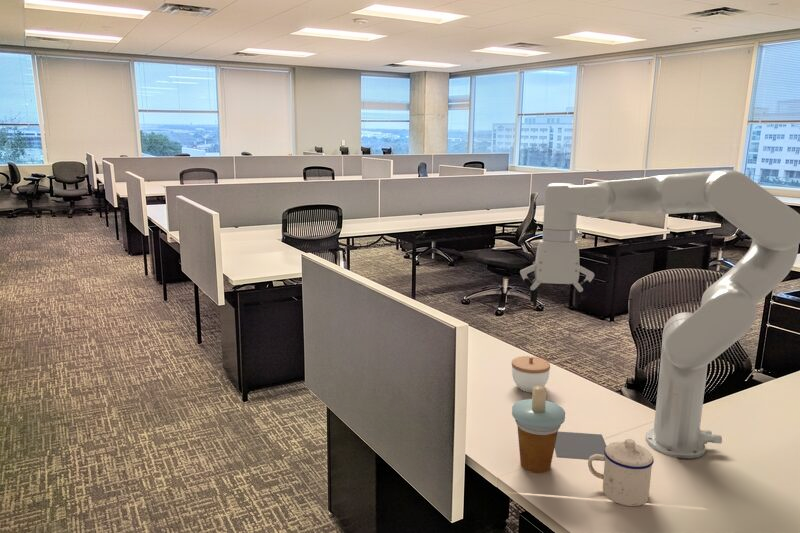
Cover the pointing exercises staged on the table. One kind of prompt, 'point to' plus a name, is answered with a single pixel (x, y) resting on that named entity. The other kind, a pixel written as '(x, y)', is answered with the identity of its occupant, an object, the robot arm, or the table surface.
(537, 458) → the disposable coffee cup
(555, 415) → the cover
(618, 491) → the teacup with lid
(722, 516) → the table surface
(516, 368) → the lidded jar
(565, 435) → the mat
